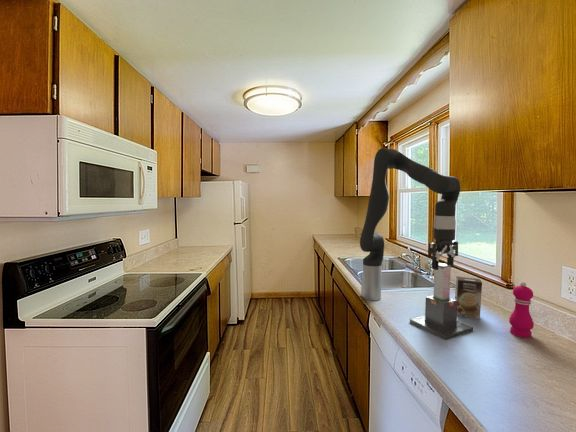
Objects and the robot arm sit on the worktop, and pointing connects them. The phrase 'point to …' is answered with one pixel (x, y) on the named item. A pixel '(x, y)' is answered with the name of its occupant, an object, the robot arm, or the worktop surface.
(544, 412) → the worktop surface
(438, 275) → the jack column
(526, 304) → the pepper mill
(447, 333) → the grey square socket base
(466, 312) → the coffee box
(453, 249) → the robot arm
